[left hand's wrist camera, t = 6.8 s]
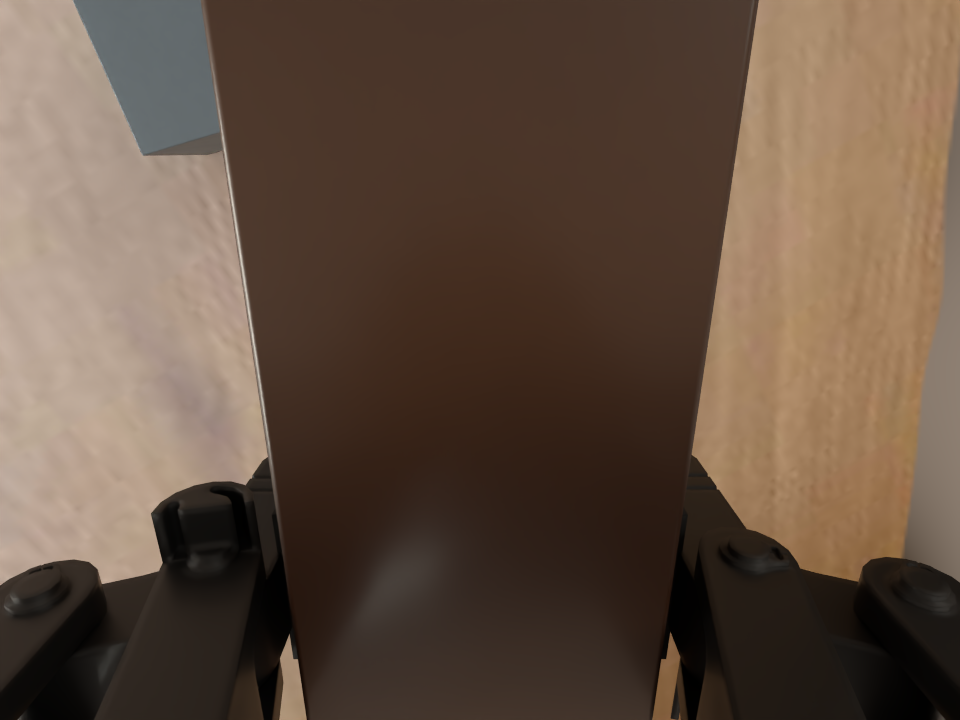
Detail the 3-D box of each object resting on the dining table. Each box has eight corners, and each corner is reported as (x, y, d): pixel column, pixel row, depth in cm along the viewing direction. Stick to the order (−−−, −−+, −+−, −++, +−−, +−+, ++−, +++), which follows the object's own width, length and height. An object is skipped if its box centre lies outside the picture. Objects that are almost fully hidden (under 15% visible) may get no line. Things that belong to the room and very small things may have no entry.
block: (316, 122, 24) (276, 115, 19) (207, 155, 24) (141, 156, 20) (271, -12, 22) (214, -55, 17) (154, 26, 23) (69, -7, 18)
